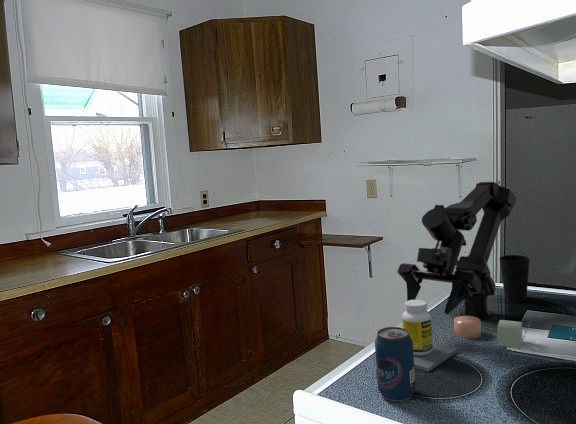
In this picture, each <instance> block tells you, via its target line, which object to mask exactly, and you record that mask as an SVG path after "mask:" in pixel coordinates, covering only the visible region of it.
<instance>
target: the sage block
mask: <svg viewBox="0 0 576 424" xmlns="http://www.w3.org/2000/svg"><path fill="white" fill-rule="evenodd" d="M522 323H523V322H522V321H515V320H505V319H500V320H499V321H498V323H497V328H496V330H497V331H496V332H497V346H499V347H506V348H512V347H519V348H518V349H521V348H520V346H521V347H522V344H521V343H523V324H522Z"/></svg>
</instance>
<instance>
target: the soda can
mask: <svg viewBox="0 0 576 424" xmlns="http://www.w3.org/2000/svg"><path fill="white" fill-rule="evenodd" d="M376 334H377V335H376V337H375V339H374V351H375V353H374V354H375V366H376V378H377V379H376V381H377V389H378V391H379V392H380V394H381V396H382V397H383V398H384V399H386V400H388V401H391V402H405V401H407V400H409V399H411V398H412V397H413V395H414V393H415V392H416V372H415V369H416V368H414V354H413V341H412V339H411V337H410V336H409V332H408V331H407V330H406V329H404V328H403V327H398V326H389V327H382V328H380V329H378V331H377V332H376Z"/></svg>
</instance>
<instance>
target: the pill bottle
mask: <svg viewBox="0 0 576 424" xmlns="http://www.w3.org/2000/svg"><path fill="white" fill-rule="evenodd" d="M404 309H405V310H404V312H403V313H402V315H401V319H402V321H401V322H402V328H404V329H406V330H407V331H408V332H409V336H410V337H411V339H412V341H413V354H414V355H416V356H423V355H427V354H430V353H431V352H432V350H433V343H434V342H433V327H432V315H431V313H430V312H429V311H428V304H427V301H425V300H423V299H415V300H408V301H407V300H406V301H405V302H404ZM432 342H433V343H432Z"/></svg>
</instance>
